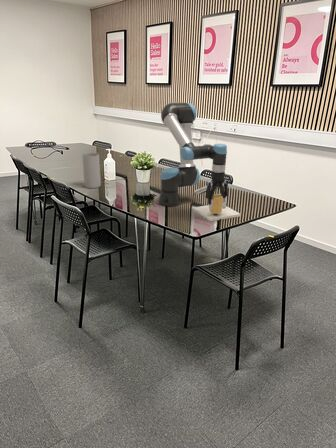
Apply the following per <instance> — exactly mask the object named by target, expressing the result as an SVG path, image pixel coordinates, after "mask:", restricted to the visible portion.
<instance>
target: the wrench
mask: <svg viewBox="0 0 336 448" xmlns="http://www.w3.org/2000/svg"><path fill="white" fill-rule="evenodd" d="M211 188H212V185H211ZM218 188H219V187H217V188H216V189H215V190H218ZM206 191H207V185H205V186H203V187H201V188H198V189H195V190H194V191H193V194H194V195H199V194H201V193H203V192H206Z"/></svg>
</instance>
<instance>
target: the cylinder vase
mask: <svg viewBox="0 0 336 448" xmlns="http://www.w3.org/2000/svg"><path fill="white" fill-rule="evenodd" d="M81 158H82V169H83V179H84V187H85V188H87V189H98V188H100V187H101V186H102V180H101V179H102V178H101V166H100V165H101V164H100V163H101V162H100V153H96V152H94V153H93V152H86V153H82V155H81Z"/></svg>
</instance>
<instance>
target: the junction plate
mask: <svg viewBox="0 0 336 448" xmlns="http://www.w3.org/2000/svg"><path fill="white" fill-rule="evenodd" d="M218 194H219V195H221V193H218ZM227 197H228V196H226V198H225V202H224V203H223V208H222V212H221V213H219V214H215V213H211V212H210V209H209V204H207V205H200V206H193V207H192V208H191V210H192V211H194V212H195V213H197V214H198V215H199V216H201V217H202V216H203V217H202V218H204V219H205V218H206V219H205V220H207V221H208V220H209V222H214V221H213V220H215V221H220V219H221V220H226V219H232V218H239V217H241V216H242V214H241V213H240V212H238V211H236V210H234V209H233V208H231V207H229V206H227Z"/></svg>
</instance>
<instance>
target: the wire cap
mask: <svg viewBox="0 0 336 448" xmlns="http://www.w3.org/2000/svg"><path fill="white" fill-rule="evenodd" d="M219 194H220V193H217V194H215V193H214V194H213V197H212V199H213V206H212V210H210V212H211V213H215V214H219V213H221V212H222V204H223V196H222V195H219Z"/></svg>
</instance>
